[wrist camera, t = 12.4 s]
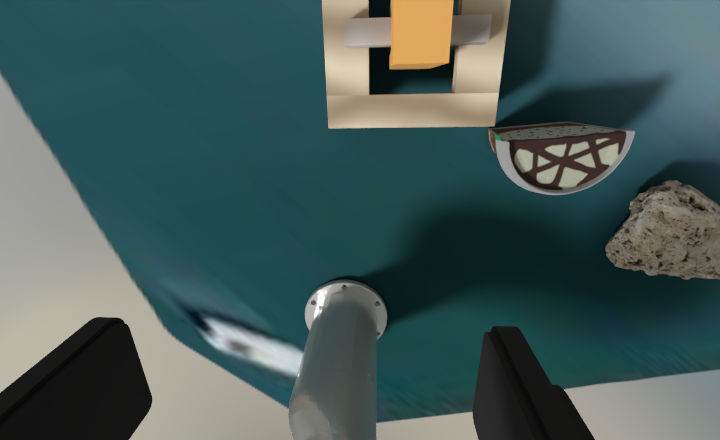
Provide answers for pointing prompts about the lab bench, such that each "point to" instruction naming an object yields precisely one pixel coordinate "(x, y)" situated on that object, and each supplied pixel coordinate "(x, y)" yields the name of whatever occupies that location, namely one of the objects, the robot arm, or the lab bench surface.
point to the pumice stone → (669, 234)
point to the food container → (559, 154)
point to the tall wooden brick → (420, 33)
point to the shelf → (457, 109)
